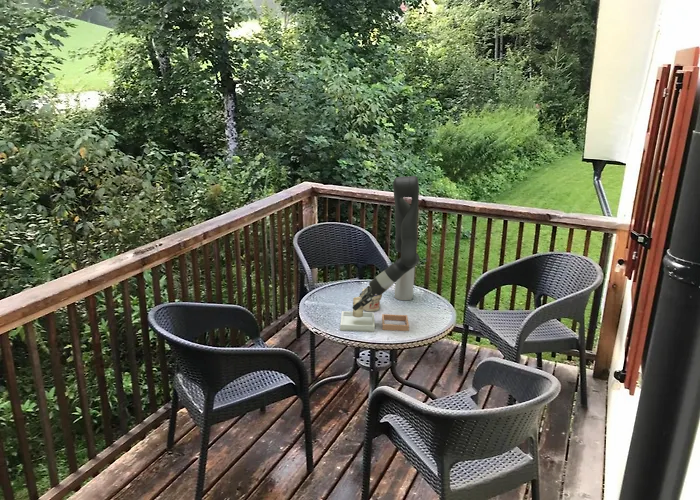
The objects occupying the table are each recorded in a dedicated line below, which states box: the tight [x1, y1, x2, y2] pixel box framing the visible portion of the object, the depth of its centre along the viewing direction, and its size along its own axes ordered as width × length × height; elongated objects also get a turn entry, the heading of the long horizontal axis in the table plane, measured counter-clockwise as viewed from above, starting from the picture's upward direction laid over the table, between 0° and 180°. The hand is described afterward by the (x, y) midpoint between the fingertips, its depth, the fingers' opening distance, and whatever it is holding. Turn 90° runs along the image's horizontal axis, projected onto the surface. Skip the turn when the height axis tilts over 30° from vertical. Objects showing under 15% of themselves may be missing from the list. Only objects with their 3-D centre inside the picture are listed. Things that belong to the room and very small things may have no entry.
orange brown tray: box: [381, 313, 410, 332], centre depth 255 cm, size 12×12×2 cm
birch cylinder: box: [352, 296, 364, 317], centre depth 252 cm, size 5×5×8 cm
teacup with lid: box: [361, 287, 383, 313], centre depth 271 cm, size 12×9×12 cm
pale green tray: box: [339, 310, 376, 333], centre depth 254 cm, size 15×15×3 cm
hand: (353, 306), depth 252 cm, fingers closed on birch cylinder, 4 cm apart
